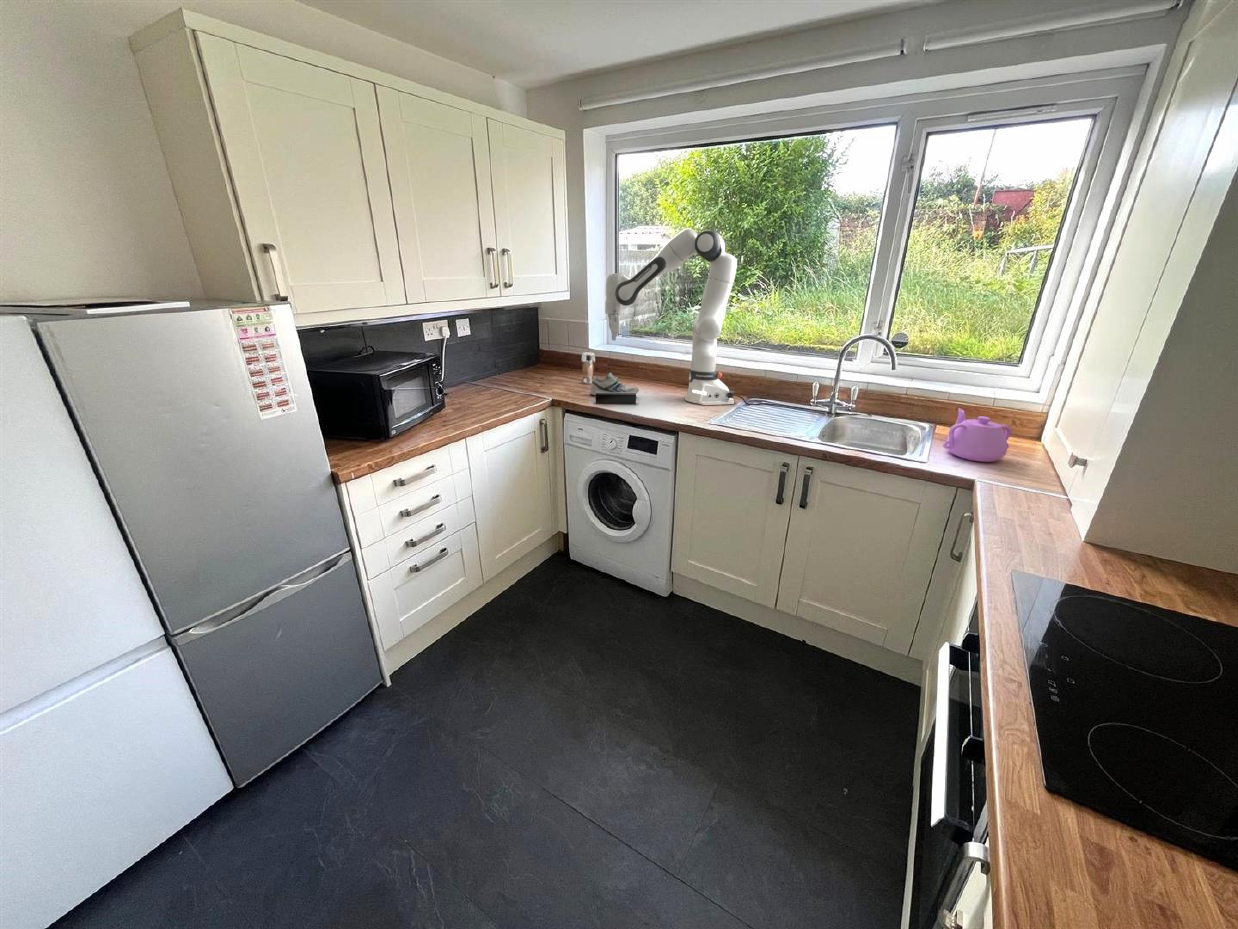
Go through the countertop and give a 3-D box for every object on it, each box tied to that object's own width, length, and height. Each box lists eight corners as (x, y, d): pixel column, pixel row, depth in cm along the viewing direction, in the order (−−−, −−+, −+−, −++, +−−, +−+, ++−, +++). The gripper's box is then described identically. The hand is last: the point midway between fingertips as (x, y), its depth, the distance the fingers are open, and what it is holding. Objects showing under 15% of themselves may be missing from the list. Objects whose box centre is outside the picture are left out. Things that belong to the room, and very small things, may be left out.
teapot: (977, 444, 183) (988, 407, 178) (1023, 465, 163) (1037, 425, 158) (918, 442, 182) (928, 406, 177) (957, 464, 162) (969, 423, 157)
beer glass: (597, 382, 263) (597, 353, 257) (591, 384, 257) (591, 355, 251) (585, 380, 265) (585, 352, 260) (579, 382, 259) (579, 353, 254)
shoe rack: (635, 403, 223) (636, 392, 221) (635, 404, 222) (636, 392, 220) (595, 402, 222) (595, 391, 220) (595, 403, 221) (595, 392, 219)
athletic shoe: (638, 398, 230) (639, 372, 228) (588, 398, 230) (589, 371, 228) (638, 398, 240) (638, 373, 238) (590, 398, 240) (590, 372, 238)
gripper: (622, 311, 225) (621, 343, 230) (619, 308, 244) (619, 337, 249) (608, 311, 224) (608, 342, 229) (606, 308, 243) (606, 337, 248)
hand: (613, 339), depth 239 cm, fingers closed
